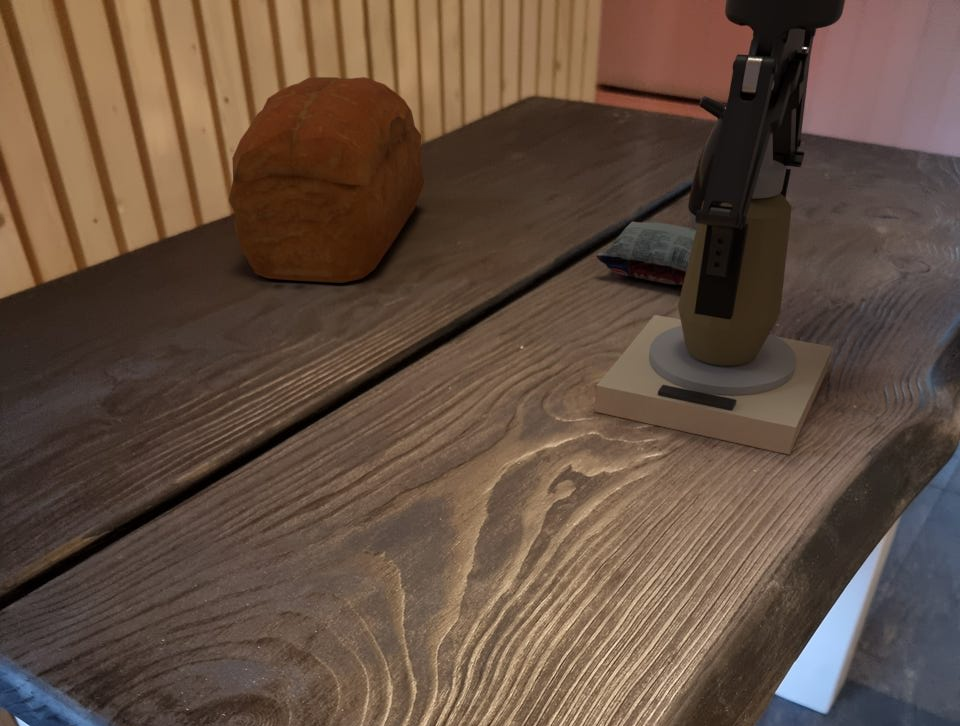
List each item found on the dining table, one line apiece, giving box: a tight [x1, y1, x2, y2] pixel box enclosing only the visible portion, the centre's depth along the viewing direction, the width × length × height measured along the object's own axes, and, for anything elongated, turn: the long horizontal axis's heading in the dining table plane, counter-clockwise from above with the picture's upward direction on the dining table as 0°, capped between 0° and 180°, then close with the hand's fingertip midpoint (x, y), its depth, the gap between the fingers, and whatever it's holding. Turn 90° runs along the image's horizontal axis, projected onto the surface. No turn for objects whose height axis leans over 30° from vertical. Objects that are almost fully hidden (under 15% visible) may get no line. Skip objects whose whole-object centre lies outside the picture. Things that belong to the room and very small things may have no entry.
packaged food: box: [595, 221, 696, 286], centre depth 96 cm, size 9×12×5 cm
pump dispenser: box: [687, 95, 788, 230], centre depth 99 cm, size 10×10×15 cm
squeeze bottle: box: [677, 133, 793, 366], centre depth 71 cm, size 8×8×18 cm
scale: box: [594, 314, 834, 456], centre depth 77 cm, size 16×15×3 cm
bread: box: [228, 76, 425, 284], centre depth 101 cm, size 16×27×16 cm, turn 170°
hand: (736, 282), depth 73 cm, fingers open, 13 cm apart
